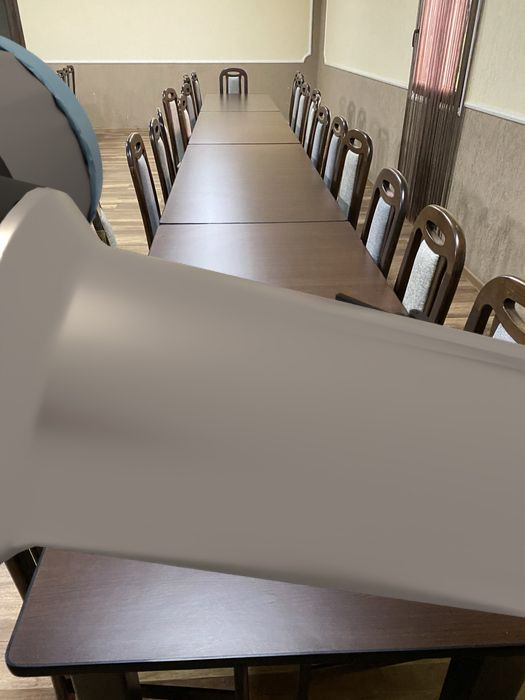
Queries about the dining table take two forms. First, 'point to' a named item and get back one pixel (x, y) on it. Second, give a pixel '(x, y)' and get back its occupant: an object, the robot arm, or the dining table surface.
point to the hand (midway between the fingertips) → (292, 325)
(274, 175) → the dining table surface
